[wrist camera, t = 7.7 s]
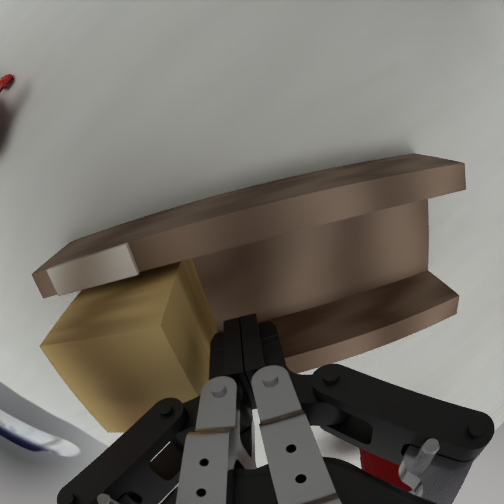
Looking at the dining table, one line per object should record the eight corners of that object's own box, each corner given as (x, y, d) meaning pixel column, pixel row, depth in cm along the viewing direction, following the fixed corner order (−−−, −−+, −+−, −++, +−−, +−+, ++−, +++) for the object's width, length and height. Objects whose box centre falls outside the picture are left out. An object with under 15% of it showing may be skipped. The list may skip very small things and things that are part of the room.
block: (187, 243, 17) (160, 325, 9) (216, 326, 19) (216, 425, 11) (100, 267, 17) (39, 346, 9) (137, 341, 19) (108, 432, 11)
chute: (415, 153, 17) (467, 163, 12) (420, 281, 20) (458, 316, 15) (70, 242, 17) (28, 276, 12) (127, 356, 21) (110, 406, 16)
